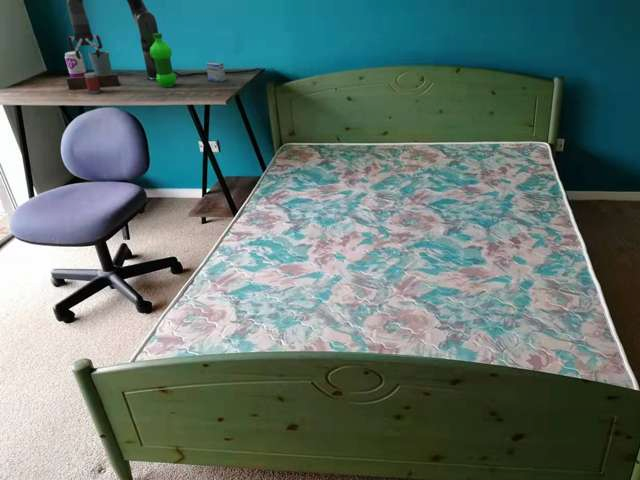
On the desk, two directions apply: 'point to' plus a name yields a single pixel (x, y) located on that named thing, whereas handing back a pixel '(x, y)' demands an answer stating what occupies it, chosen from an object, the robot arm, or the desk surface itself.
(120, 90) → the desk surface
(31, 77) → the desk surface
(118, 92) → the desk surface
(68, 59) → the supplement can
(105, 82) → the wooden wall
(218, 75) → the medicine box
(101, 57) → the grey cup
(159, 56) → the plastic bottle
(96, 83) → the tin can
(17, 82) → the desk surface
